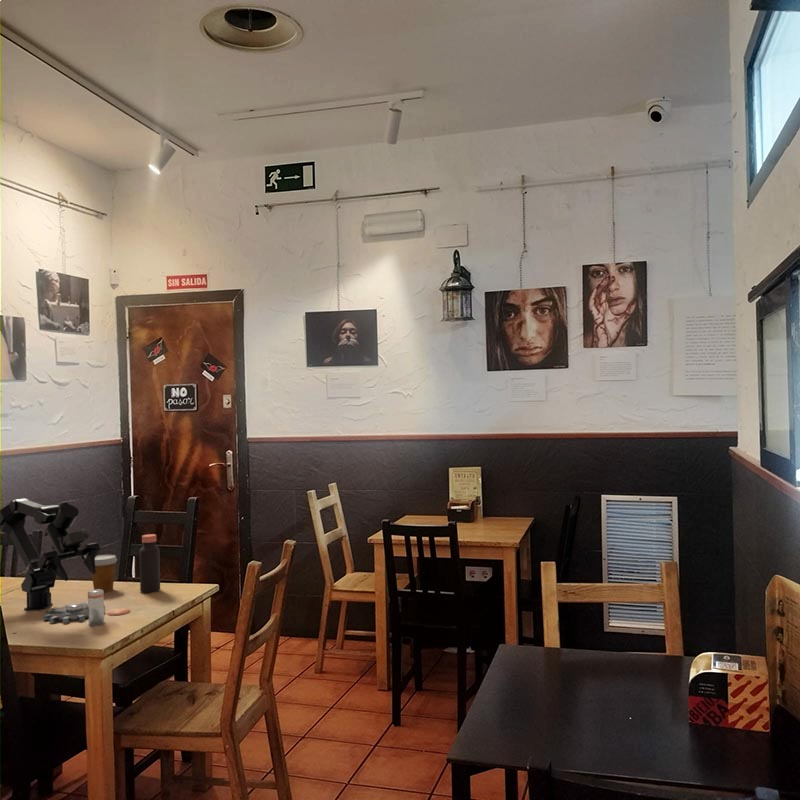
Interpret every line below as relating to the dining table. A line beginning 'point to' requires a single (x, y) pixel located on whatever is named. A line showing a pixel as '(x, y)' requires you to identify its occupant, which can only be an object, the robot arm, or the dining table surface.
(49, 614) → the sprocket
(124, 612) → the seat pad
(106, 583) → the disposable coffee cup
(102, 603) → the pin
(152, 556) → the bottle
